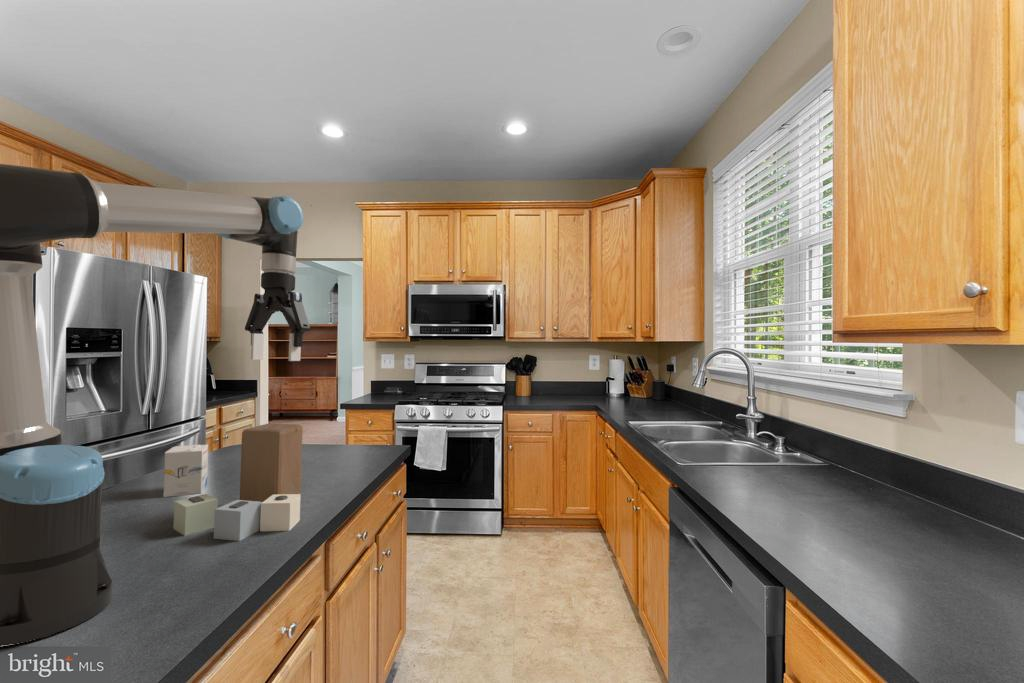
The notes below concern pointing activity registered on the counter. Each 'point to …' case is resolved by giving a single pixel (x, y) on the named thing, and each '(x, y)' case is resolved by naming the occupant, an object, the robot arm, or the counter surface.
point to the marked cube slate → (237, 520)
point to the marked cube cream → (280, 512)
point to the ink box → (185, 470)
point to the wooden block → (270, 461)
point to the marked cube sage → (194, 514)
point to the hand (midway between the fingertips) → (275, 360)
